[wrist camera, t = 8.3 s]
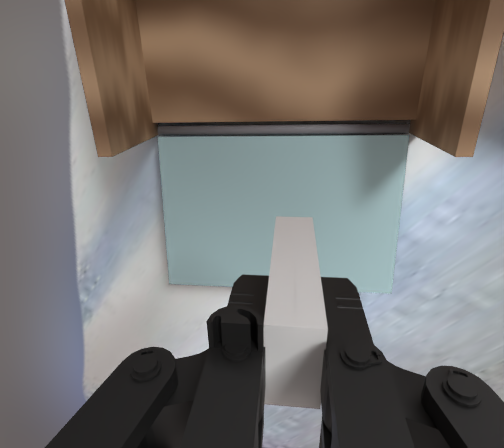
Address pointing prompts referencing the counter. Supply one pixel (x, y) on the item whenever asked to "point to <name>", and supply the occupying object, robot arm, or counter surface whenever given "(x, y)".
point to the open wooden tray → (286, 64)
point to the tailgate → (282, 198)
